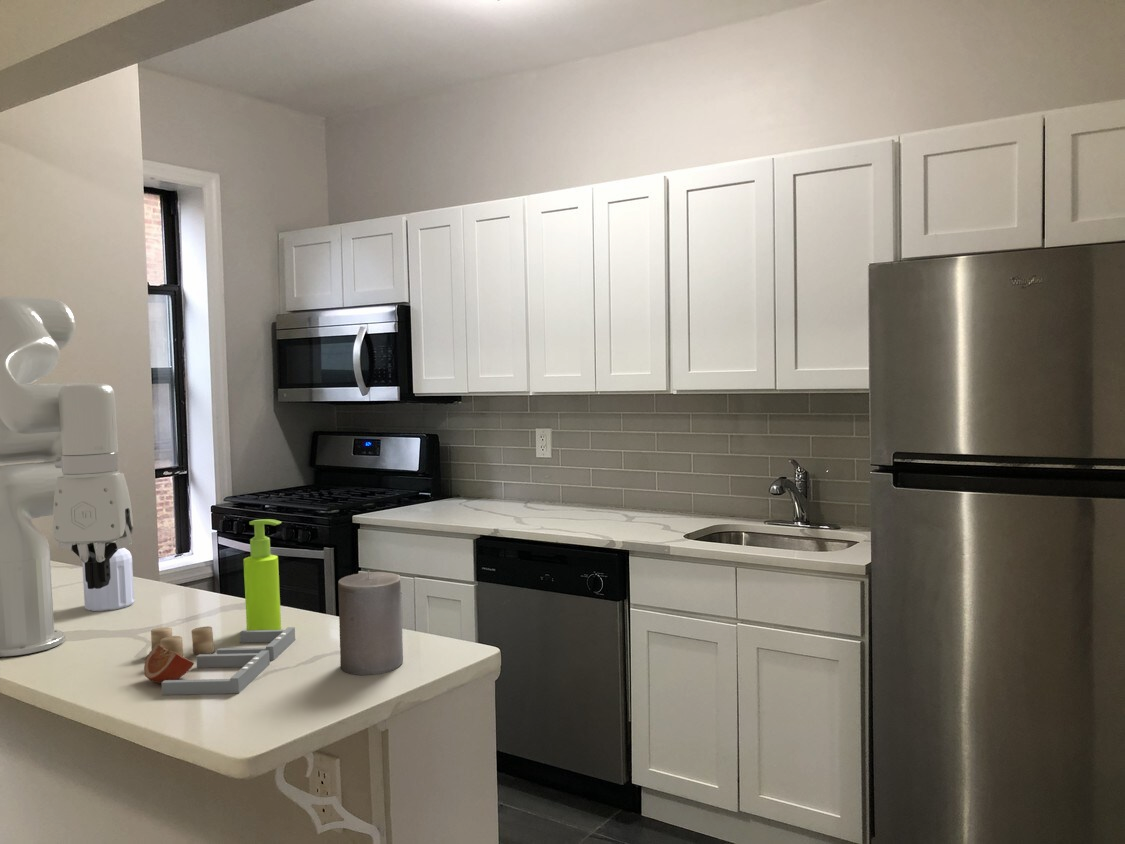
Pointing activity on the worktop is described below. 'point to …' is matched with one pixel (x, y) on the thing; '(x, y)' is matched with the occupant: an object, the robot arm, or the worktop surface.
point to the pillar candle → (370, 623)
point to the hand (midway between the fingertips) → (98, 586)
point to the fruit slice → (165, 665)
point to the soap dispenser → (262, 581)
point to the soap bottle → (112, 585)
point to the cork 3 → (202, 640)
